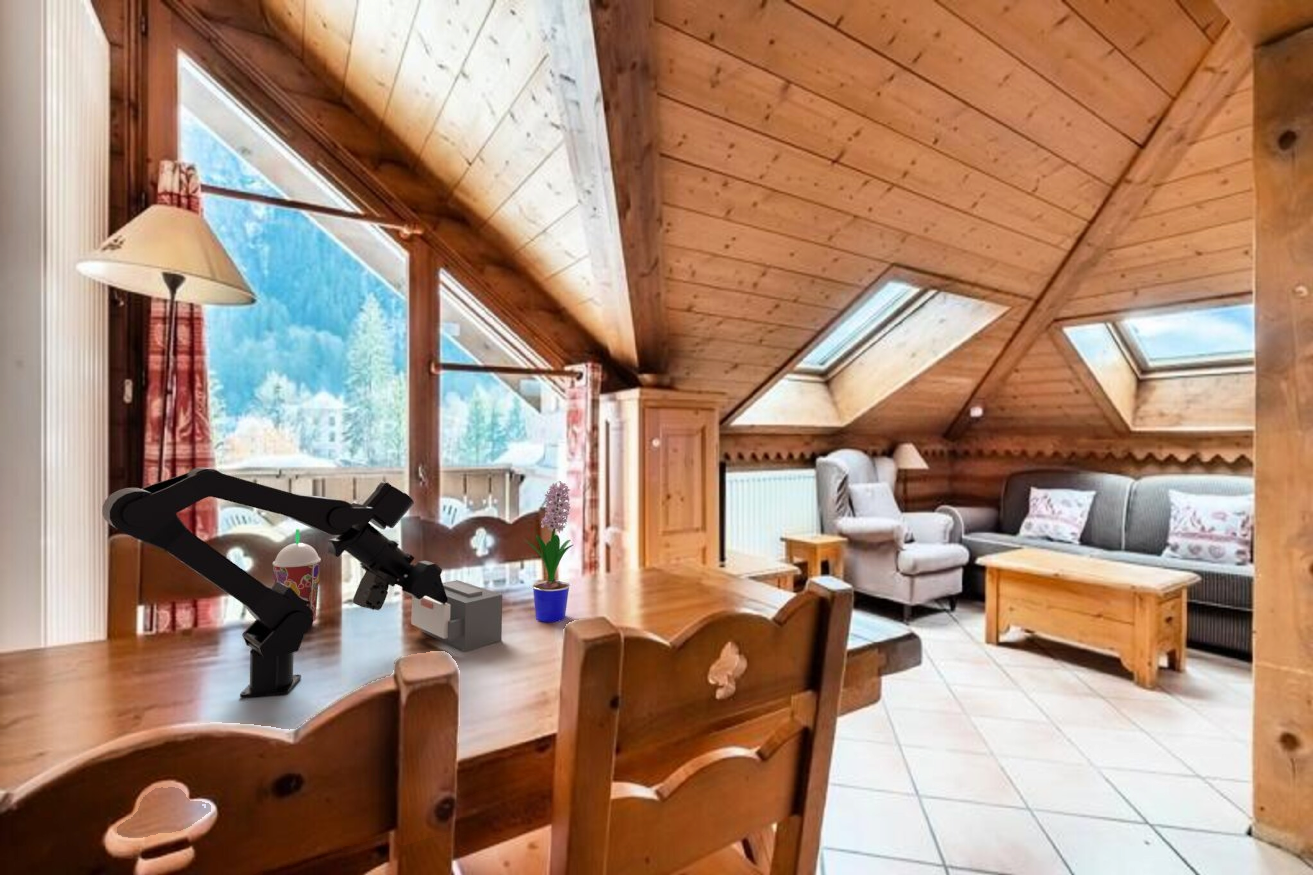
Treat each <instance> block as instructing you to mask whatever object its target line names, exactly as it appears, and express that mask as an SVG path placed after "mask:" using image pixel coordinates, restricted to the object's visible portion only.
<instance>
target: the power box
mask: <svg viewBox="0 0 1313 875" xmlns="http://www.w3.org/2000/svg"><path fill="white" fill-rule="evenodd" d="M442 583H443V586H444V589H445V592H446V595H447V598H448V600H447V602H446V603H448V604H450V621H448V638H445V639H443V638H441V637H439V636H437V635H435V634H432V633H430V632H428V631H426V630H424V629H421V628H420V632H422V634H425V635H428V636H430V637H432V638H434V639H436V640H438V641H441V642H443V643H445V644H447V645H449V646H451V647H454V648H456V649H458V650H460V651H463V652H469V651H471V650H475V649H478V648H481V647H485V646H489V645H492V644H494V643H497V642H498V643H499V642H502V639H503V638H502V637H503V636H502V634H503V633H502V632H503V631H502V630H503V629H502V628H503V625H502V624H503V593H502V594H501V593H498V592H495V591H492V590H490V589H488V588H487V589H486V588H483V587H479V586H477V585H475V584H474V585H473V584H471V583H467V582H464V581H461V580H459V579H457V580H451V581H446V582H442Z"/></svg>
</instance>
